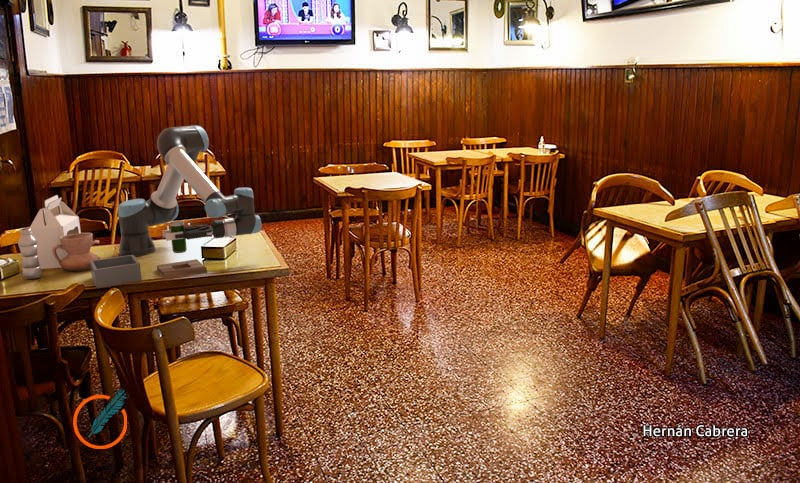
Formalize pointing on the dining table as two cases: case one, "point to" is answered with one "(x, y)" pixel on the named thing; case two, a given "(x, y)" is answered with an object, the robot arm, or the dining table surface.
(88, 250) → the ceramic jug
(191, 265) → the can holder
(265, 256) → the dining table surface
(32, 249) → the plastic bottle
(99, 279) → the bin
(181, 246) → the beer can
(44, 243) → the gable box
